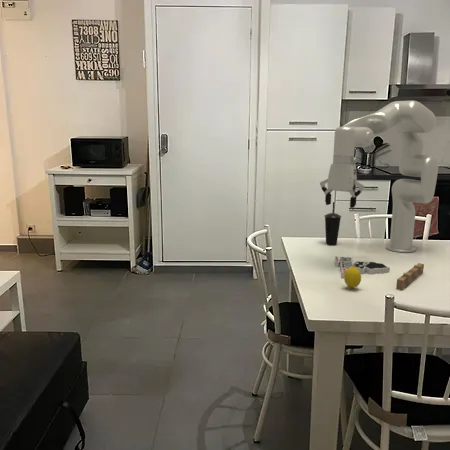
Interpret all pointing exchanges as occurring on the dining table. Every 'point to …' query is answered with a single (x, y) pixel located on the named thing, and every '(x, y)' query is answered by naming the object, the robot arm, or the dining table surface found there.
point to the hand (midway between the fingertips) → (340, 205)
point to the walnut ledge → (409, 276)
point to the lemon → (352, 277)
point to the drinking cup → (332, 227)
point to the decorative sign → (361, 266)
